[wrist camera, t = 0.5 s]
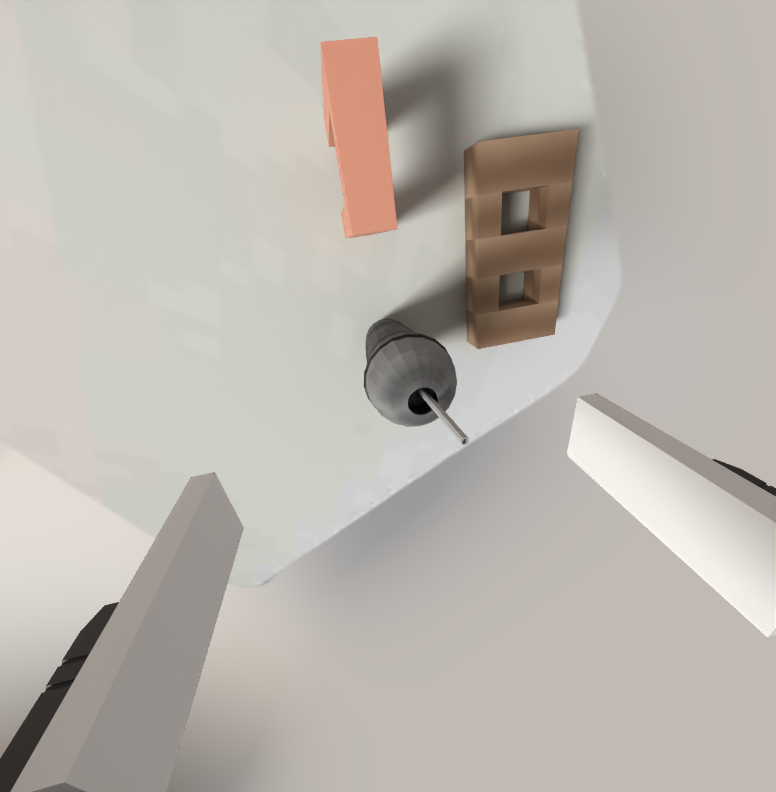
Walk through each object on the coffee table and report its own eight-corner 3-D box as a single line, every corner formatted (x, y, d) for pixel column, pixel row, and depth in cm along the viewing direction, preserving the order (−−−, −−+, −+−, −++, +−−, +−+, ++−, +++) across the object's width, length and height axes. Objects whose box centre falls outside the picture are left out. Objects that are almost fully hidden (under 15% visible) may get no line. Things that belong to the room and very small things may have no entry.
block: (323, 116, 25) (320, 41, 16) (359, 112, 26) (377, 36, 16) (345, 238, 29) (352, 235, 20) (376, 233, 30) (397, 228, 20)
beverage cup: (359, 299, 32) (397, 367, 14) (424, 313, 34) (529, 388, 16) (348, 364, 35) (367, 487, 17) (408, 373, 37) (482, 493, 19)
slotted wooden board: (464, 151, 28) (478, 141, 25) (555, 139, 29) (578, 128, 26) (467, 341, 36) (478, 349, 34) (538, 327, 37) (554, 334, 34)
